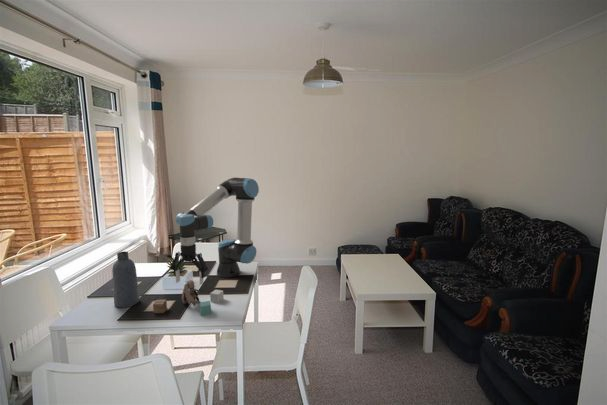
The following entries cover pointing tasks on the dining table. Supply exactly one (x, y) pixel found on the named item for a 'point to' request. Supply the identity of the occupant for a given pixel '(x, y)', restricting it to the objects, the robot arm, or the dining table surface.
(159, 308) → the walnut cube
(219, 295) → the grey cube
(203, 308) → the teal cube
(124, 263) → the vase
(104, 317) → the dining table surface
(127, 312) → the dining table surface
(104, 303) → the dining table surface
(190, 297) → the toy
